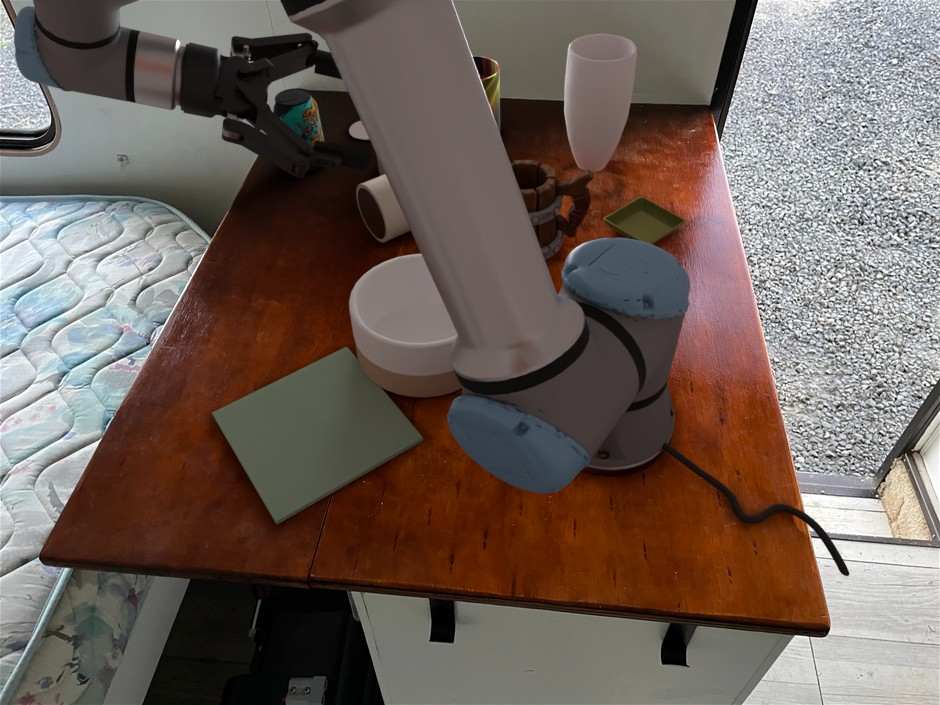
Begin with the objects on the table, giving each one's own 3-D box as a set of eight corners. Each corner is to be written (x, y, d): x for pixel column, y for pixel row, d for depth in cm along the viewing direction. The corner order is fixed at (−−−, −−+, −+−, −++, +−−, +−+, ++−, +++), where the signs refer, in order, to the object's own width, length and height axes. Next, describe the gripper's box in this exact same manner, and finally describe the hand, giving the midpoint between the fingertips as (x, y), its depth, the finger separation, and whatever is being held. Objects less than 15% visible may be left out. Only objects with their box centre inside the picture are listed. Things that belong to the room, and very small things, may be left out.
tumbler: (421, 199, 113) (416, 148, 106) (453, 225, 108) (449, 174, 101) (360, 224, 109) (351, 173, 102) (390, 253, 104) (382, 201, 97)
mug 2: (482, 217, 108) (498, 129, 97) (573, 236, 108) (600, 150, 97) (471, 266, 100) (487, 176, 89) (570, 286, 100) (598, 198, 89)
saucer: (645, 256, 101) (647, 245, 99) (600, 229, 106) (602, 218, 104) (685, 232, 105) (687, 220, 103) (639, 206, 109) (641, 195, 108)
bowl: (517, 330, 92) (520, 280, 86) (447, 419, 81) (444, 368, 75) (407, 287, 98) (402, 237, 92) (328, 364, 87) (318, 314, 82)
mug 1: (422, 124, 130) (416, 59, 121) (497, 119, 130) (496, 53, 121) (423, 151, 123) (417, 85, 114) (503, 146, 123) (502, 79, 115)
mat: (423, 440, 80) (423, 437, 79) (276, 525, 73) (275, 522, 72) (347, 349, 90) (346, 346, 90) (212, 415, 83) (211, 412, 83)
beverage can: (332, 168, 120) (319, 101, 112) (291, 177, 119) (275, 110, 110) (322, 148, 125) (309, 82, 116) (283, 157, 123) (266, 91, 115)
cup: (626, 197, 111) (645, 62, 96) (559, 199, 112) (568, 64, 96) (617, 162, 118) (634, 30, 103) (555, 163, 119) (562, 33, 103)
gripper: (191, 23, 87) (361, 64, 94) (168, 188, 77) (362, 219, 84) (192, -30, 81) (375, 18, 88) (168, 142, 70) (377, 180, 78)
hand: (369, 116), depth 86 cm, fingers open, 13 cm apart
